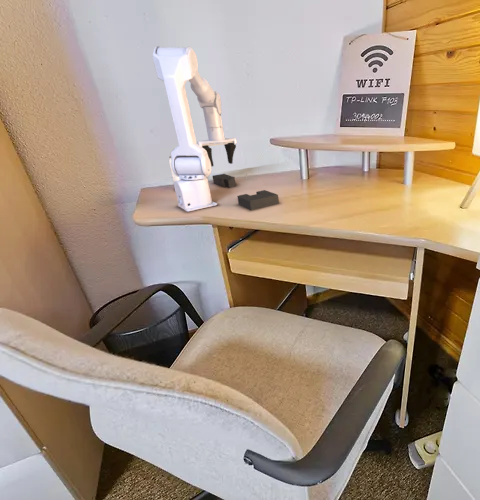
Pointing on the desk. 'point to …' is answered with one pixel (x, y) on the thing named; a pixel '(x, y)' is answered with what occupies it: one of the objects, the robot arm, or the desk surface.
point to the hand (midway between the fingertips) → (221, 164)
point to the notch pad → (258, 200)
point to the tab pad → (224, 180)
